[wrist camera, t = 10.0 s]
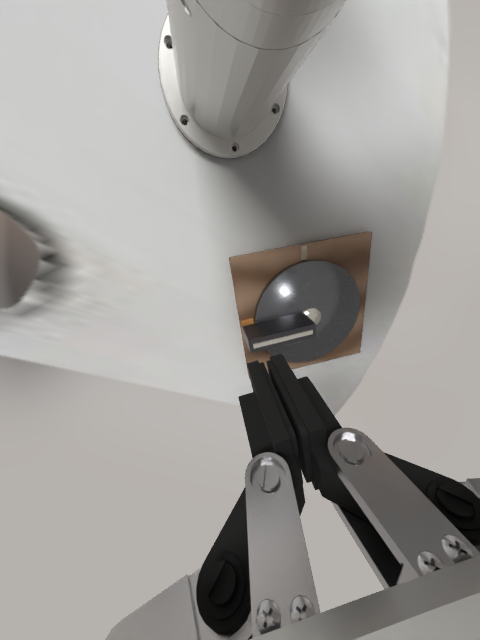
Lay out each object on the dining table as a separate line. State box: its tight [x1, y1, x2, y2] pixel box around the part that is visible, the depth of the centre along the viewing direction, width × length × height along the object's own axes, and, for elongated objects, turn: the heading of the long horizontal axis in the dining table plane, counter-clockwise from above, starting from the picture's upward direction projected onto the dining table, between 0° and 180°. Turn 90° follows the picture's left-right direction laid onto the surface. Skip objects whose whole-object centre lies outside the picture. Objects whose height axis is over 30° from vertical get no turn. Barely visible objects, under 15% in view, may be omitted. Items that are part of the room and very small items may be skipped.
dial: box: [242, 260, 360, 362], centre depth 32 cm, size 18×16×5 cm
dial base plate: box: [229, 232, 372, 378], centre depth 35 cm, size 20×20×1 cm
